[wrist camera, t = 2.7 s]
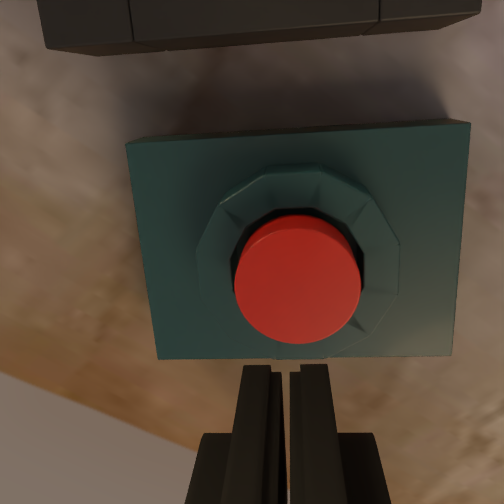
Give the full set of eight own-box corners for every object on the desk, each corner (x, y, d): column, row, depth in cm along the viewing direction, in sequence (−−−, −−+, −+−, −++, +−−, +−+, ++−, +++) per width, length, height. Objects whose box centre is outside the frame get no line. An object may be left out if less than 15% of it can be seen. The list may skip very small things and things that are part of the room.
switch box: (450, 118, 18) (493, 127, 14) (436, 329, 21) (467, 383, 17) (143, 136, 19) (105, 149, 15) (170, 334, 22) (144, 385, 18)
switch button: (354, 210, 16) (362, 225, 14) (354, 318, 17) (360, 343, 15) (235, 215, 16) (229, 230, 14) (243, 320, 17) (238, 345, 16)
